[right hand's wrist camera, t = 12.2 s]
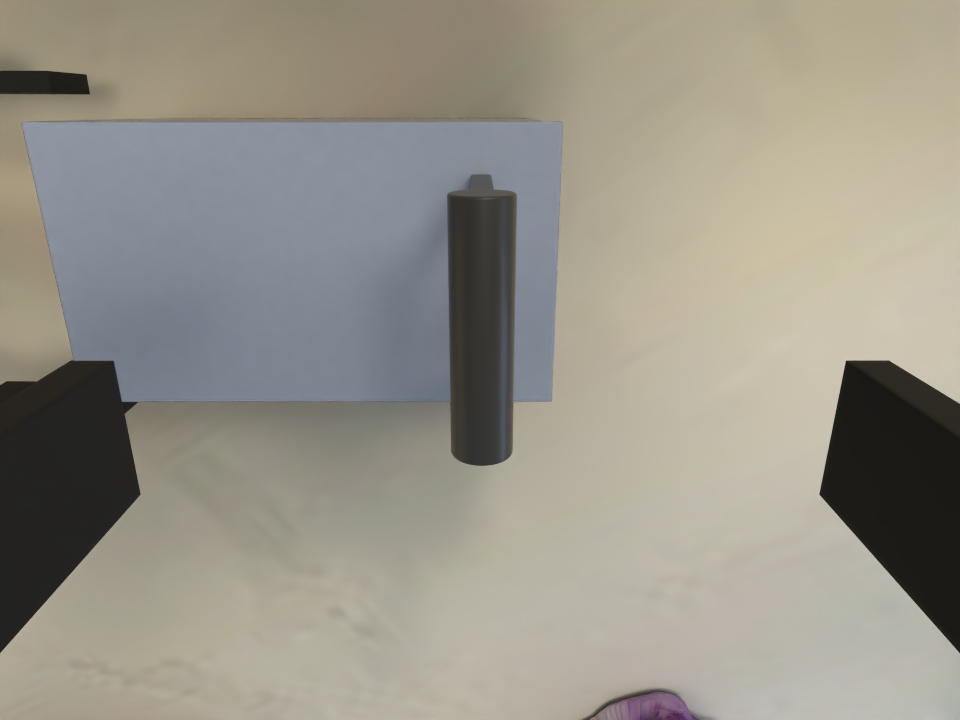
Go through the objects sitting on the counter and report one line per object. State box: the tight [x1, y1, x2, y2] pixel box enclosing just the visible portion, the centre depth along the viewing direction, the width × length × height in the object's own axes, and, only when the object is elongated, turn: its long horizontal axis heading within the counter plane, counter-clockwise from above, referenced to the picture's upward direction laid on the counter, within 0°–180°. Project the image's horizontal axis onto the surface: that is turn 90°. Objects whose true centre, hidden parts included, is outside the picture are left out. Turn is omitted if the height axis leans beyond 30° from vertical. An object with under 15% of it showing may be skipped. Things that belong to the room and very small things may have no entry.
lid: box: [22, 121, 563, 466], centre depth 21 cm, size 18×10×9 cm, turn 90°
